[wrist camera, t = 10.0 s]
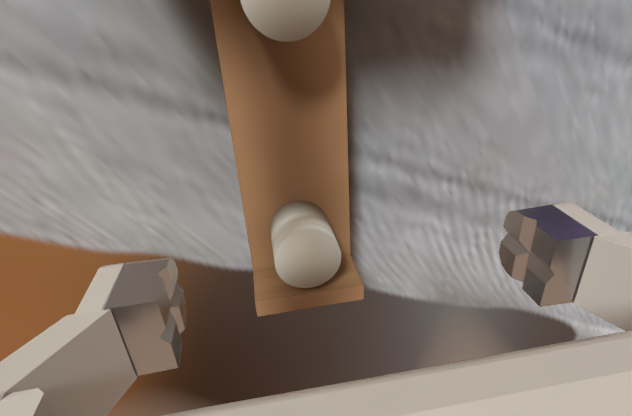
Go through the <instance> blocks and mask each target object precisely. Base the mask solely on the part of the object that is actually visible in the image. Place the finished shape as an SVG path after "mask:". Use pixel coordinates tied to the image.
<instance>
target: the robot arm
mask: <svg viewBox="0 0 632 416" xmlns="http://www.w3.org/2000/svg"><path fill="white" fill-rule="evenodd" d="M504 228H505V230H506V231H507V233H508V234H507V235H506V236H505V237H504V239H503V240H502V241H501V244H500V251H499V254H500V259H501V264H502V266H503V267H504V269H505V271H506V272H507V273H508V274H509V275H510V276H511V277H512V278H514V279H517V280H519V281H521V282H523V286H522V289H523V290H524V291H525V292H526V293H527V294H528V295H529V296H530V297H531V298H532V299H533V300H534V301H535V302H536V303H537V304H538V305H539V306H540V307H542V306H549V305H556V304H563V303H570V302H574V304H575V305H577V306H579V307H581V308H583V309H585V310H587V311H589V312H591V313H592V314H594V315H596V316H598V317H600V318H602V319H604V320H606V321H608V322H610V323H612V324H614V325H616V326H617V327H619V328H621V329H623V330H625V332H620V333H614V334H608V335H603V336H597V337H592V338H586V339H581V340H575V341H570V342H564V343H559V344H553V345H547V346H542V347H536V348H531V349H525V350H520V351H514V352H509V353H503V354H498V355H492V356H487V357H481V358H476V359H470V360H464V361H459V362H453V363H448V364H443V365H437V366H431V367H426V368H421V369H415V370H410V371H404V372H399V373H394V374H388V375H382V376H377V377H371V378H366V379H360V380H355V381H349V382H344V383H338V384H333V385H327V386H322V387H316V388H311V389H305V390H299V391H294V392H288V393H283V394H278V395H272V396H266V397H261V398H255V399H250V400H244V401H238V402H233V403H227V404H222V405H216V406H211V407H205V408H200V409H195V410H189V411H183V412H178V413H172V414H166V415H161V416H632V233H630V232H619V231H617V230H616V229H614V228H613V227H611V226H609V225H608V224H606V223H604V222H603V221H601V220H600V219H598V218H596V217H595V216H593V215H591V214H590V213H588V212H587V211H585V210H583V209H582V208H580V207H578V206H577V205H575V204H574V203H569V202H563V203H557V204H552V205H547V206H541V207H535V208H529V209H522V210H516V211H510V212H509V213H508V214H507V216H506V218H505V222H504ZM177 276H178V271H177V267H176V264H175V261H174V260H173V259H172V258H163V259H156V260H147V261H138V262H131V263H121V264H114V265H107V266H103V267H101V268H99V269H98V271H97V273H96V275H95V277H94V279H93V280H92V282H91V284H90V286H89V288H88V290H87V292H86V294H85V295H84V297H83V299H82V301H81V303H80V305H79V306H78V308H77V310H76V312H75V314H73V315H67V316H65V317H64V318H62V319H61V320H60V321H58V322H57V323H55V324H54V325H52V326H51V327H50V328H48V329H47V330H45V331H44V332H43V333H41V334H40V335H38V336H37V337H35V338H34V339H33V340H31V341H30V342H28V343H27V344H25V345H24V346H22V347H21V348H20V349H18V350H17V351H15V352H14V353H13V354H11V355H10V356H8V357H7V358H5V359H4V360H3V361H1V362H0V416H106V415H107V414H108V413H109V411H110V410H111V409H112V408H113V407H114V405H115V404H116V403H117V402H118V400H119V399H120V398H121V397H122V396H123V394H124V393H125V392H126V391H127V390H128V388H129V387H130V386H131V385H132V383H133V382H134V381H135V379H137V376H138V375H143V374H149V373H153V372H159V371H164V370H169V369H174V368H178V366H179V360H180V354H181V349H182V341H181V337H180V333H181V332H182V331H183V330H184V329H185V325H186V304H185V297H184V293H183V289H182V288H181V287H180V286H178V285H177V284H176V281H177Z"/></svg>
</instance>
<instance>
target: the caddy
mask: <svg viewBox="0 0 632 416" xmlns="http://www.w3.org/2000/svg"><path fill="white" fill-rule="evenodd" d="M210 6H211V12H212V18H213V24H214V30H215V36H216V43H217V49H218V55H219V61H220V67H221V74H222V80H223V86H224V92H225V98H226V104H227V111H228V117H229V123H230V129H231V135H232V142H233V148H234V154H235V160H236V166H237V173H238V179H239V185H240V191H241V197H242V203H243V210H244V216H245V222H246V228H247V234H248V241H249V247H250V253H251V259H252V265H253V274H254V292H255V305H256V311H257V316H264V315H270V314H276V313H282V312H288V311H295V310H300V309H306V308H313V307H319V306H325V305H331V304H337V303H344V302H349V301H356V300H362V299H364V285H363V282H362V280H361V278H360V276H359V273H358V271H357V269H356V267H355V264H354V262H353V260H352V258H351V255H350V216H349V176H348V137H347V97H346V57H345V18H344V0H210Z"/></svg>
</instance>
